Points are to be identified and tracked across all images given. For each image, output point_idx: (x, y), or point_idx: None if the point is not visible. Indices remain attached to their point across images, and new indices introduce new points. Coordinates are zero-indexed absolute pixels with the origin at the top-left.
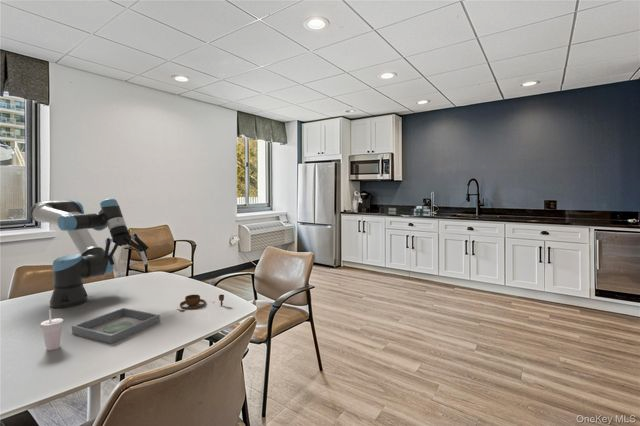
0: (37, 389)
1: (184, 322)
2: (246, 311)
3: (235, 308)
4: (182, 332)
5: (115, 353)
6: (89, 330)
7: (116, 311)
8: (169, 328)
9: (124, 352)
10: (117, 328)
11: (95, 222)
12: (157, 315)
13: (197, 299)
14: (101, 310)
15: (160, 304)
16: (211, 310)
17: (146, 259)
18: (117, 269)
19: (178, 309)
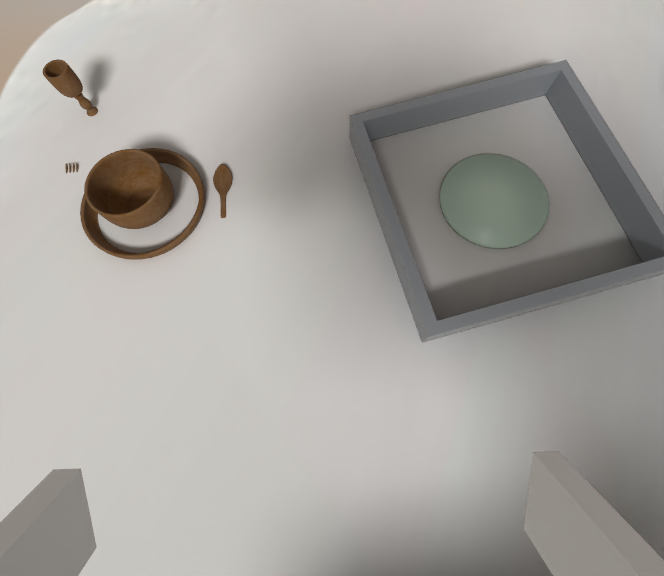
0: None
1: (293, 73)
2: (94, 12)
3: (88, 56)
4: (345, 15)
5: (553, 23)
6: (627, 158)
7: (475, 310)
8: (357, 65)
9: (531, 13)
10: (501, 183)
11: None
12: (359, 117)
13: (129, 154)
14: (494, 517)
15: (229, 338)
16: (153, 100)
17: (9, 521)
18: (554, 454)
19: (224, 200)
